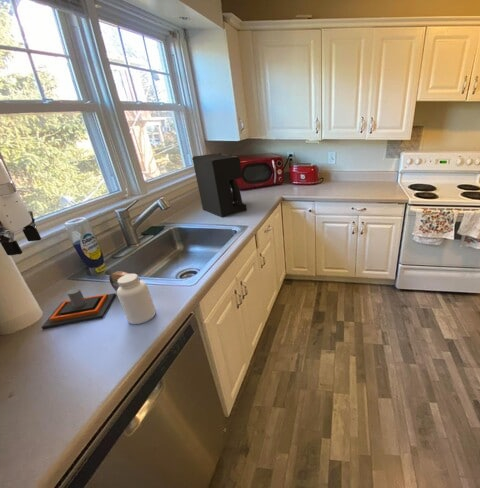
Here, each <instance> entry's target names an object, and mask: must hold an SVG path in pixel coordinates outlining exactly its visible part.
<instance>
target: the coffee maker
mask: <svg viewBox="0 0 480 488" xmlns="http://www.w3.org/2000/svg"><path fill="white" fill-rule="evenodd" d="M191 160H192V164H193V168H194V169H193V170H194V174H195V177H196V178H195V179H196V183H197V188H198V192H199V198H200V202H201V206H202V210H203V211H205V212H207V213H210V214H213V215H215V216H218V217H220V218H225V217H228V216H232V215H235V214H238V213H242V212H246V211H247V209H248V208H247V204H246V203H243V198H242V194H241V190H240V187H239V185H238V182H237V180H239V179H242V177H243V172H242V165H241V158H240V157H239V156H235V155H233V154H224V153H210V154H203V155H202V154H201V155H194V156H192V157H191Z"/></svg>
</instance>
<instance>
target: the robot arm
mask: <svg viewBox="0 0 480 488" xmlns="http://www.w3.org/2000/svg"><path fill="white" fill-rule="evenodd" d="M16 201H18V202H17V203H15V202H16ZM5 205H6V206H5ZM35 221H36V219H35V218H34V212H33V211H31V210H29V209H28V207H27V206H26V204H25V203H24V200H22V198H21V196H20V195H19V192H18V190H17V189H16V186H15V185H14V182H13V181H12V179H11V176H10V174H9V173H8V171H7V168H6V166H5V164H4V162H3V160H2V158H1V159H0V245H1V247H2V248H3V250H4V252H5V254H6V256H17V255H21V254H23V250H22V248H21V247H20V245H19V243H18V241H17V240H15V233H17V232H19V231H20V230H22V232H23V234H24V236H25V238H26V240H27V242H37V241H42V237H41V235H40V232H39V230H38V229H37V224H36V222H35Z"/></svg>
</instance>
